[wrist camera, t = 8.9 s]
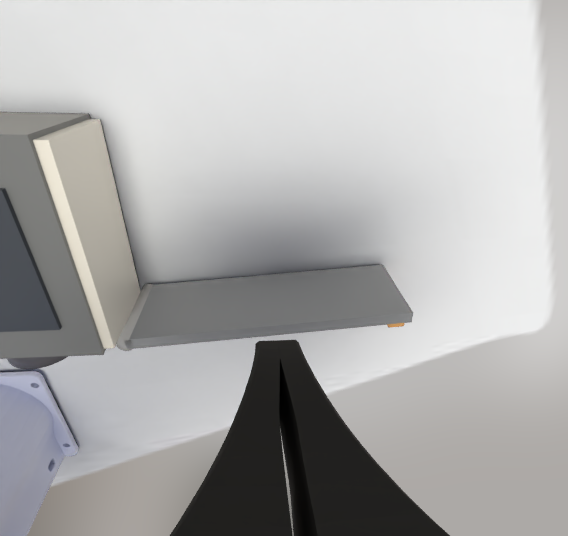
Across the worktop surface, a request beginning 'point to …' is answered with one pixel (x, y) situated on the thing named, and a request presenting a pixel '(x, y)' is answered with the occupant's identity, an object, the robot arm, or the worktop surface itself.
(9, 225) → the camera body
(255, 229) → the worktop surface
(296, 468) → the robot arm
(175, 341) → the side door
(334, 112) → the worktop surface
